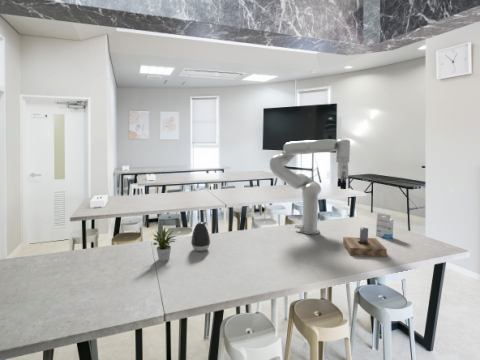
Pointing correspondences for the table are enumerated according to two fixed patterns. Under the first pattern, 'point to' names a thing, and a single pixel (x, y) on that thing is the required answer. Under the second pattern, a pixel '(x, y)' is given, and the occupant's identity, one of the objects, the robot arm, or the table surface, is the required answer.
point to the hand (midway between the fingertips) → (341, 187)
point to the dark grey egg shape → (200, 237)
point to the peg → (364, 236)
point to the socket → (364, 247)
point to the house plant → (163, 245)
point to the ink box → (384, 226)
